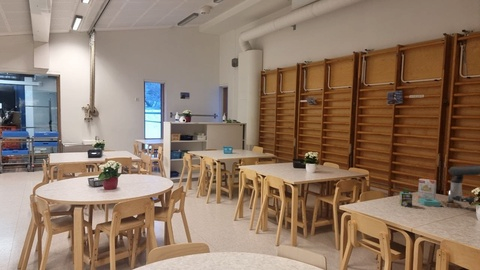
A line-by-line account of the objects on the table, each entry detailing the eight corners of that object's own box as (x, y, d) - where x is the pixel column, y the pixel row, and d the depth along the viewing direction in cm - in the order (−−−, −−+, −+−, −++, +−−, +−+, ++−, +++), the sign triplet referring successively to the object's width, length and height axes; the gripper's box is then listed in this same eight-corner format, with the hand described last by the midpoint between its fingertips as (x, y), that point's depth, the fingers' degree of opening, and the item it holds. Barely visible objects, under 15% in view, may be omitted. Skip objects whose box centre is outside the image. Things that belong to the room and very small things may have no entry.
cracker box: (417, 199, 320) (418, 178, 319) (419, 198, 324) (420, 178, 323) (433, 202, 309) (434, 180, 308) (435, 201, 313) (436, 180, 313)
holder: (454, 204, 301) (454, 201, 301) (461, 208, 289) (461, 204, 289) (440, 203, 303) (440, 200, 303) (446, 207, 291) (446, 203, 291)
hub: (434, 202, 306) (434, 198, 306) (440, 206, 292) (440, 202, 292) (418, 202, 308) (418, 197, 308) (424, 205, 295) (424, 201, 294)
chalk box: (409, 204, 298) (410, 188, 297) (412, 206, 289) (413, 190, 288) (398, 203, 300) (399, 187, 300) (401, 206, 291) (401, 189, 291)
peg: (452, 205, 298) (452, 190, 298) (454, 206, 294) (455, 191, 293) (447, 205, 299) (447, 190, 298) (449, 206, 295) (450, 191, 294)
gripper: (478, 195, 286) (457, 192, 298) (473, 198, 277) (452, 194, 289) (477, 204, 286) (456, 200, 299) (473, 206, 277) (451, 202, 290)
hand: (454, 197), depth 294 cm, fingers open, 8 cm apart
